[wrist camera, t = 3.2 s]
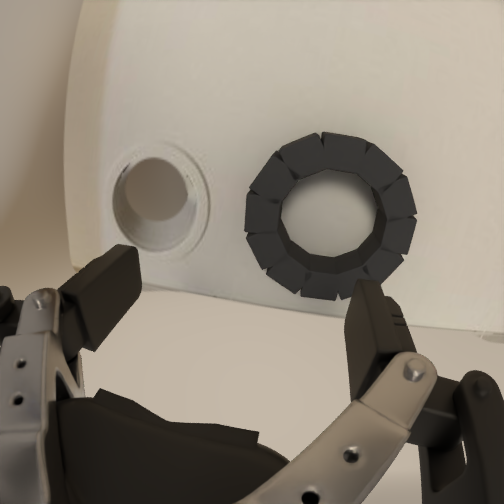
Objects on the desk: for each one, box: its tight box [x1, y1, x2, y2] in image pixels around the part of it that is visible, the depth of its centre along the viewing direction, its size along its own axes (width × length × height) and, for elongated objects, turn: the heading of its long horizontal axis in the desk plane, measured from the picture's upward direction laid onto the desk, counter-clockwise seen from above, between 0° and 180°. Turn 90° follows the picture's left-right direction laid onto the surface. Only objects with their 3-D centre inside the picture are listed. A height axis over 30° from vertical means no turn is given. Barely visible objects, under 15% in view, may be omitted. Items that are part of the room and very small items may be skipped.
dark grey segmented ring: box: [244, 132, 417, 301], centre depth 18 cm, size 10×10×2 cm
